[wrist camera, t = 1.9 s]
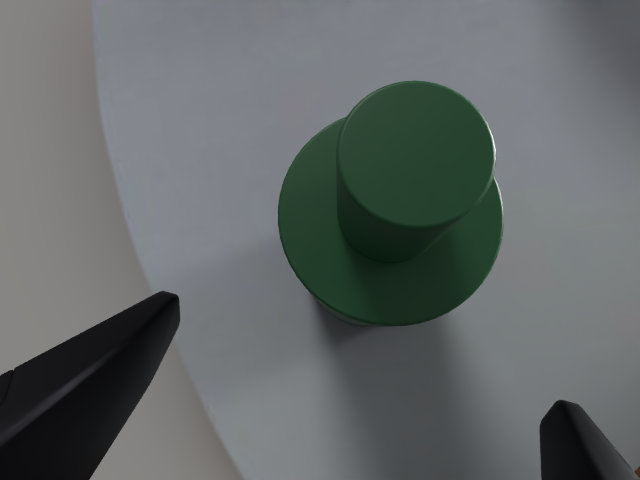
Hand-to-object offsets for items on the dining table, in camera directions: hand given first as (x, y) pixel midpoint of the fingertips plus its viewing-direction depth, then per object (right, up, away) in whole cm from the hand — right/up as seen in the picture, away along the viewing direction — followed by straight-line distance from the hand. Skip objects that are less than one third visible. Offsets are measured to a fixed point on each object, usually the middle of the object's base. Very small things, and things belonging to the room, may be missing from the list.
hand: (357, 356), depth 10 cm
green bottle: (+1, +2, +11) cm, 11 cm away
